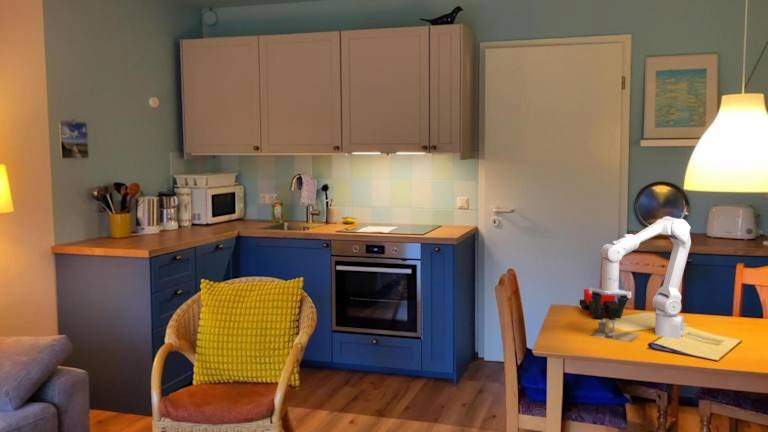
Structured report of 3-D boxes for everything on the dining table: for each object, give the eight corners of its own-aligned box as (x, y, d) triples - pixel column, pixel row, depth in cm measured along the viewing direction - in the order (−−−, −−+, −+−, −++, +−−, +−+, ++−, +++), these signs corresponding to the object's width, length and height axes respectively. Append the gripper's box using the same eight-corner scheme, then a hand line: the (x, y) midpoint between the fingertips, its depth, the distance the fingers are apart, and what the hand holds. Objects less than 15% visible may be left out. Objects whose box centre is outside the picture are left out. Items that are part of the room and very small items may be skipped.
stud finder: (614, 331, 264) (614, 319, 264) (609, 334, 259) (609, 322, 259) (603, 329, 266) (603, 317, 266) (598, 333, 261) (598, 321, 261)
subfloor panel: (640, 337, 259) (640, 334, 259) (631, 345, 250) (631, 342, 249) (599, 331, 268) (600, 328, 268) (589, 338, 258) (589, 335, 258)
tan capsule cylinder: (613, 337, 256) (613, 320, 255) (611, 338, 254) (611, 322, 253) (606, 335, 258) (606, 319, 257) (604, 337, 255) (604, 321, 255)
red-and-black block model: (588, 302, 280) (579, 289, 305) (588, 322, 281) (578, 308, 306) (626, 303, 278) (614, 289, 303) (626, 323, 279) (613, 308, 304)
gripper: (586, 277, 254) (585, 314, 256) (627, 281, 246) (626, 320, 248) (593, 274, 260) (592, 310, 262) (633, 278, 252) (632, 316, 253)
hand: (609, 315), depth 255 cm, fingers open, 7 cm apart
